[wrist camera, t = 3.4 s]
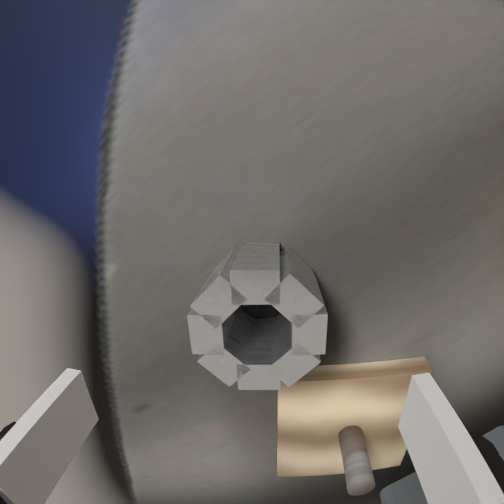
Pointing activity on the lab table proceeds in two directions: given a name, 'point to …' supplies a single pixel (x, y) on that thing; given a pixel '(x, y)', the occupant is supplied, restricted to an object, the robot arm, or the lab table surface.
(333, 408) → the shaft stand
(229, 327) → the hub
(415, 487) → the flask
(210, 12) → the lab table surface
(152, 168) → the lab table surface
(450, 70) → the lab table surface
